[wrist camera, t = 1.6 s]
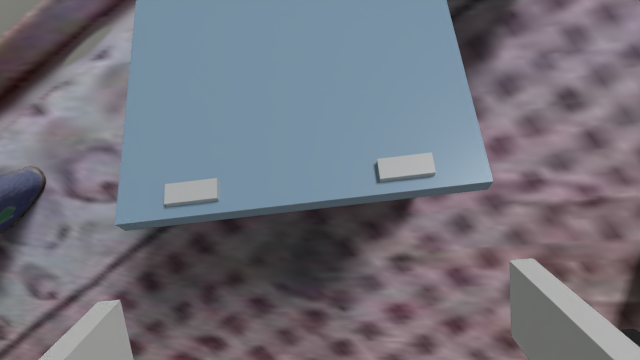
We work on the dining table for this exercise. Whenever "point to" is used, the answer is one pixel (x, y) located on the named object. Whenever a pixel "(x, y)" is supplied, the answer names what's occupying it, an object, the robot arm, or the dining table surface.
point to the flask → (18, 194)
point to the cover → (292, 109)
